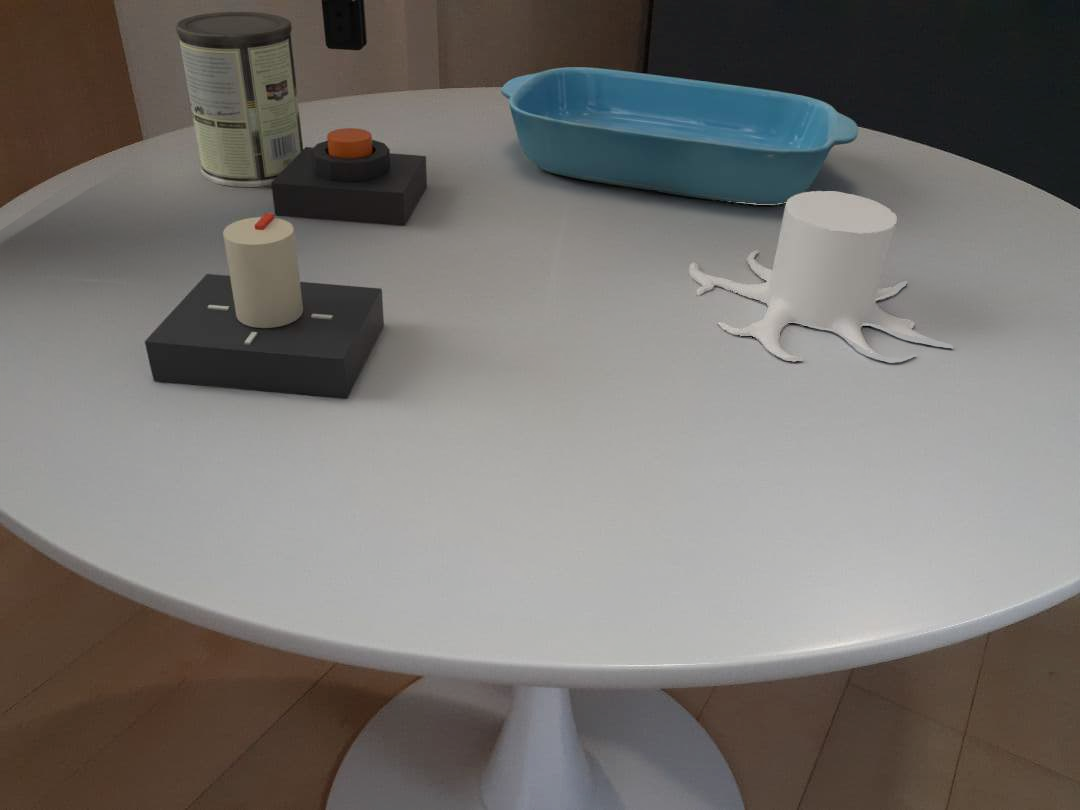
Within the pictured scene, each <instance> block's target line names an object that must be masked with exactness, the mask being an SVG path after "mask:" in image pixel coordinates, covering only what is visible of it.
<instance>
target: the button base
mask: <svg viewBox="0 0 1080 810" xmlns="http://www.w3.org/2000/svg"><path fill="white" fill-rule="evenodd" d="M372 149H373V154H371V155H368V156H365V157H359V158H340V157H335V156H331V155H329V152H328V141H327V140H325V141H321V142H319V143H317V144H315V145H314V147H313V146H305V147H303V150H302V151H301V152H300V153H299V154H298V156H297V157H296V158H295V159H294V160H293V161H292V162H291V163H290V164H289V165H288V166H287V167H286V168H285V169H284V170H283V171H282V172H281V173H280V174H279V175H278V176H277V177H276V178H275V179H274V180H273V181H272V182H271V186H270V187H271V192H272V201H273V208H274V217H285V218H299V219H312V220H323V221H335V222H336V221H337V222H347V223H348V222H349V223H360V224H373V225H374V224H375V225H384V226H385V225H386V226H396V227H397V226H399V227H405V226H406V225H407V223H408V221H409V220H410V217H411V216H412V214H413V212H414V210H415V209H416V207H417V206H418V204H419V202H420V200H421V198H422V196H423V194H424V193H425V192H426V190H427V188H428V181H427V179H428V175H427V156H426V155H418V154H417V155H416V154H406V153H405V154H404V153H394V152H393V153H390V151H391V150H390V148H389V147H388V146H387V145H386V144H385V142H381V141H378V140H375V139H372Z"/></svg>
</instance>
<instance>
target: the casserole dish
mask: <svg viewBox="0 0 1080 810" xmlns="http://www.w3.org/2000/svg"><path fill="white" fill-rule="evenodd" d="M501 94H502V96H503V97H504V98H506V99H508V100H509V102H508V103H509V110H510V113H511V117H512V121H513V125H514V129H515V132H516V136H517V138H518V142H519V145H520V147H521V150H522V151H523V153H524V155H525V156H526V157H527V158H528V159H529V160H530V161H531V162H532V163H534V164H535V166H536V167H538V168H539V170H540V169H541V171H545V172H548V173H551V174H555V175H559V176H564V177H568V178H573V179H579V180H584V181H590V182H596V183H600V184H608V185H613V186H618V187H619V186H620V187H627V188H632V189H633V188H634V189H639V190H646V191H655V192H659V193H664V194H670V195H677V196H681V197H682V196H683V197H689V198H696V199H703V200H709V199H711V200H710V201H716V200H720V201H719V202H723V201H731V202H745V203H756V204H778V203H784V202H787V201H788V199H790V198H791V197H793V196H794V195H796V194H799V193H803V192H804V193H805V192H807V190H809V188H810V187H811V186H812V184H813V183H814V181H815V180H816V178H817V176H818V174H819V172H820V171H821V169H822V167H823V166H824V163H825V161H826V159H827V157H828V155H829V153H830V152H831V150H832V149H833V147H834V146H840V145H847V144H851V143H852V142H854V141H855V140H856V139H857V137H858V135H859V127H858V125H857V123H856V121H855V120H853V119H852V118H850V117H848V116H846V115H844V114H842V113H840V112H838V111H837V110H836V109H835V108H834V107H833V106H832V105H831V104H829V103H827V102H825V101H822V100H820V99H817V98H813V97H809V96H805V95H801V94H797V93H790V92H784V91H778V90H771V89H766V88H765V89H764V88H759V87H757V88H756V87H749V86H743V85H742V86H741V85H734V84H729V83H728V84H727V83H719V82H711V81H703V80H697V79H689V78H682V77H673V76H664V75H659V74H658V75H656V74H651V73H641V72H633V71H626V70H618V69H609V68H608V69H607V68H599V67H582V66H581V67H580V66H579V67H578V66H577V67H576V66H572V67H571V66H570V67H559V68H558V67H557V68H552V69H547V70H543V71H540V72H536V73H530V74H526V75H520V76H517V77H515V78H512V79H510V80H508V81H507V82H505V83H504V84H503V86H502V87H501Z"/></svg>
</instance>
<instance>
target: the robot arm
mask: <svg viewBox="0 0 1080 810" xmlns="http://www.w3.org/2000/svg"><path fill="white" fill-rule="evenodd" d="M320 2H321V10H322V21H323V30H324V31H323V32H324V40H325V46H326V47H327V48H328V49H329V50H343V51H361V50H362V49H363V48H364V47H365V46H366V45H367V44H368V37H367V24H366V12H365V0H321V1H320Z"/></svg>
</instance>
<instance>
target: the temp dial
mask: <svg viewBox="0 0 1080 810" xmlns="http://www.w3.org/2000/svg"><path fill="white" fill-rule="evenodd" d="M222 234H223V235H222V236H223V241H224V247H225V254H226V259H227V260H226V261H227V266H228V273H229V276H230V279H231V285H232V292H233V298H234V304H235V310H236V316H237V319H238V320H239V321H240V322H241V323H243V324H245V325H247V326H250V327H256V328H274V327H280V326H284V325H287V324H290V323H292V322H294V321H296V320H297V319H298V318H299V317H300V316H301V315H302V313H303V303H302V294H301V285H300V282H301V277H300V270H299V269H300V268H299V261H298V259H299V258H298V252H297V243H296V232H295V227H294V226H293V224H292V223H291V222H290V221H288V220H285V219H282V218H279V217H278V218H277V217H275V213H274V212H273V213H270V212H266V213H264V214H263V215H262V216H257V217H256V216H255V217H249V218H244V219H239V220H236V221H234V222H232V223H230V224H228V225H227V226H226V227H225V228H224V229H223V232H222Z"/></svg>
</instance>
